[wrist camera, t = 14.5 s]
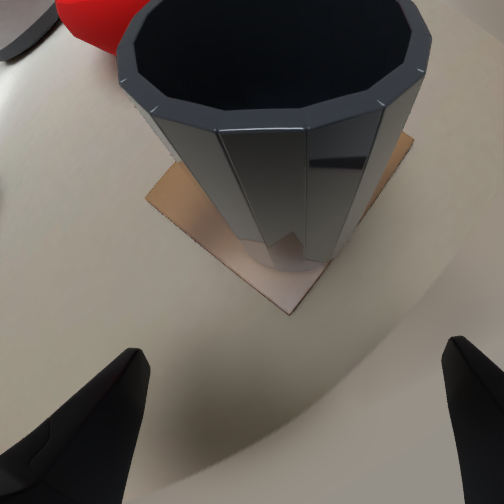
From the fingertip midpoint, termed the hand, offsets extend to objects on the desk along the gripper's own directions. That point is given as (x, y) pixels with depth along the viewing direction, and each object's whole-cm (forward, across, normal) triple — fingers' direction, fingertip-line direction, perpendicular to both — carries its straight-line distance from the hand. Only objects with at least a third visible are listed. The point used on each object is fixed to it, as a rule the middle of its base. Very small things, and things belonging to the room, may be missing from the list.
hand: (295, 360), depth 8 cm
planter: (+33, +33, -22) cm, 52 cm away
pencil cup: (+10, 0, 0) cm, 10 cm away
